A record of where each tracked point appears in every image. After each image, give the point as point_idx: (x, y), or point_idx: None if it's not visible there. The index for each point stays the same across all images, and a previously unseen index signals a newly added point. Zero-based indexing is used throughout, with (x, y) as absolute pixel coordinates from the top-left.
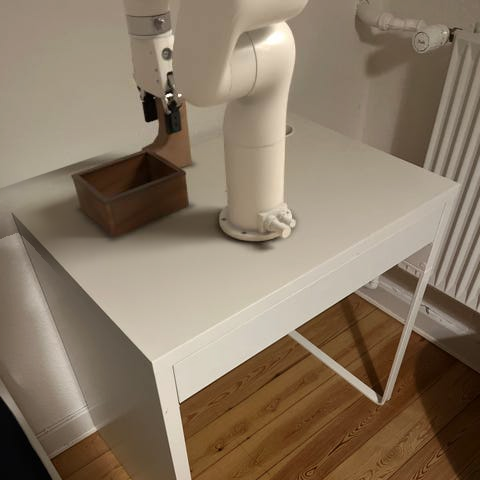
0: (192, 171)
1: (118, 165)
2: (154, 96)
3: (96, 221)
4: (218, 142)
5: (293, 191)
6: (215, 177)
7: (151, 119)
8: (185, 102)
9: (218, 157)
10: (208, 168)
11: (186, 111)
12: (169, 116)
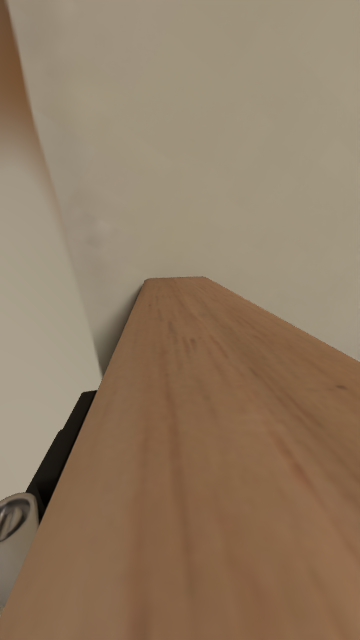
0: (241, 294)
1: None
2: (38, 508)
3: None
4: (104, 102)
5: None
6: (311, 258)
7: None
8: (322, 342)
9: (213, 178)
10: (255, 247)
11: (281, 319)
12: None
